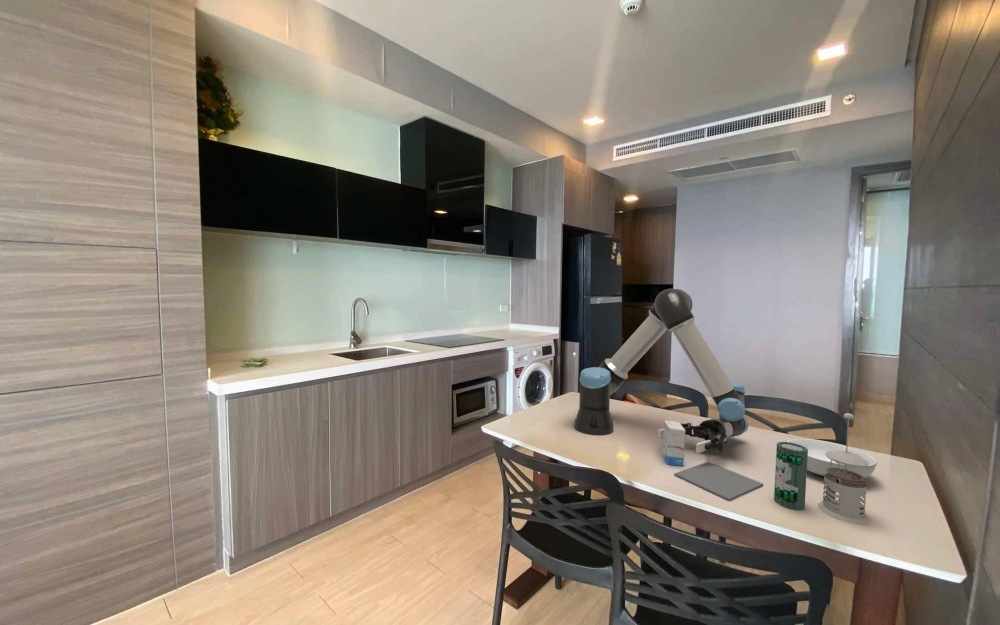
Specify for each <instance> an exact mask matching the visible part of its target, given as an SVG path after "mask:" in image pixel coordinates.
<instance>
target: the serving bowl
mask: <svg viewBox="0 0 1000 625" xmlns="http://www.w3.org/2000/svg"><path fill="white" fill-rule="evenodd" d="M786 442H791V443H796V444H798V445H802V446H804V447H806V448H807V449H808V457H807V471H809V472H811V473H812V474H813V473H814V474H816V475H818V476H822V477H824V475H825V474H826V473H827V470H826V469H828V468H830V461H831V459H829V458H828V457H827V456H826V455H825V453H826V452H829V451H834V450H841V451H846V445H844V444H841V443H836V442H832V441H826V440H819V439H812V438H792V439H788V440H786ZM847 451H848V452H851V453H854V454H857V455H859V456H860V457H862V458H863V459H865V460H866V461H868V463H869V465H868V466H867V467H853V466H848V465H846V470H848V471H852V472H855V473H858V474H859V475H861V476H863V477H864V478H865V479H866V478H868V477H869V476H871V475H873V473H874V472H875V470H876V467H877V464H878V463H877V462H878V461H877V460H876V457H874V456H872V455H870V454H869V453H866V452H865V451H862V450H861V449H858V448H853V447H851V446H848V449H847ZM833 467H834V468H838V463H836V462H835V461H833V460H832V463H831V468H833ZM839 468H840V469H845V465H844V464H839ZM836 480H839V479H838V478H836Z"/></svg>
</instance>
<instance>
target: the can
mask: <svg viewBox="0 0 1000 625" xmlns="http://www.w3.org/2000/svg"><path fill="white" fill-rule="evenodd" d="M775 452H776V453H775V472H774V474H775V475H774V489H773V491H774V493H773V500H774V502H775V503H776V504H778V505H779V506H781V507H784V508H787V509H790V510H794V511H803V510H805V507H806V506H805V505H806V489H807V476H808V475H807V473H808V472H807V471H808V470H807V457H808V449H807V448H806V447H804V446H802V445H798V444H796V443H791V442H787V441H778V442H777V443H776V450H775Z"/></svg>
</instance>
